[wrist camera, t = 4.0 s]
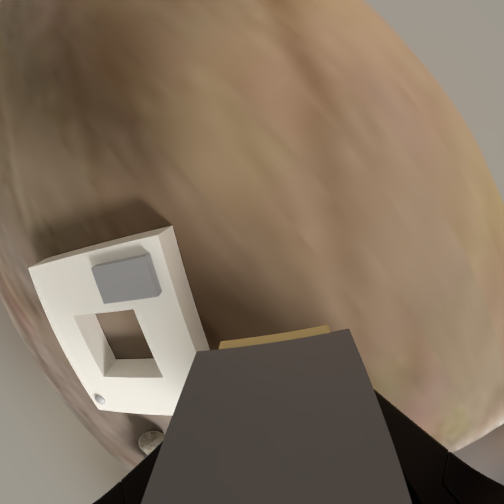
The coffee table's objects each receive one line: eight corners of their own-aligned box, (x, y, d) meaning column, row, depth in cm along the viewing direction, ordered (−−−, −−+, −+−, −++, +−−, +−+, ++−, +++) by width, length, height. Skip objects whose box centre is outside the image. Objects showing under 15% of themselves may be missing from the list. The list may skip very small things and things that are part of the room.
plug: (345, 403, 9) (379, 580, 2) (235, 417, 9) (209, 591, 3) (340, 310, 8) (426, 562, 1) (204, 331, 8) (119, 566, 2)
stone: (143, 415, 25) (104, 462, 21) (164, 444, 21) (120, 494, 17) (202, 446, 29) (168, 486, 26) (228, 469, 25) (189, 512, 22)
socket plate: (226, 393, 21) (220, 421, 18) (109, 392, 23) (95, 414, 20) (172, 225, 18) (153, 238, 15) (47, 257, 19) (22, 271, 16)
